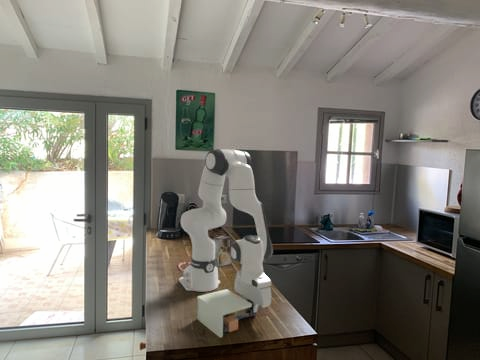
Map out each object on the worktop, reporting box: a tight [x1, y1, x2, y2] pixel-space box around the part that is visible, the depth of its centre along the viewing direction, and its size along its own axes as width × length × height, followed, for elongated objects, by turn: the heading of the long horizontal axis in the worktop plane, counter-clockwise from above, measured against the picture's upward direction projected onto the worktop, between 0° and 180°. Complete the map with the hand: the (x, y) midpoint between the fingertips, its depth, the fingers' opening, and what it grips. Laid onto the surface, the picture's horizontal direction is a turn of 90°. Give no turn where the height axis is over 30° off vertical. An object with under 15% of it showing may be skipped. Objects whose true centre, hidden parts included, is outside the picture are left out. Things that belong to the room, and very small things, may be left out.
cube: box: [223, 314, 239, 333], centre depth 135 cm, size 4×4×4 cm
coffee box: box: [212, 235, 232, 268], centre depth 210 cm, size 9×6×16 cm
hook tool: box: [223, 299, 257, 333], centre depth 139 cm, size 8×18×6 cm, turn 126°
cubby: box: [196, 288, 252, 339], centre depth 139 cm, size 17×14×9 cm
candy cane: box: [177, 261, 191, 273], centre depth 203 cm, size 8×1×15 cm
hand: (251, 309), depth 146 cm, fingers closed on hook tool, 3 cm apart
